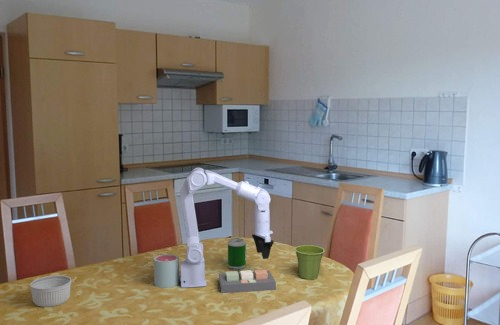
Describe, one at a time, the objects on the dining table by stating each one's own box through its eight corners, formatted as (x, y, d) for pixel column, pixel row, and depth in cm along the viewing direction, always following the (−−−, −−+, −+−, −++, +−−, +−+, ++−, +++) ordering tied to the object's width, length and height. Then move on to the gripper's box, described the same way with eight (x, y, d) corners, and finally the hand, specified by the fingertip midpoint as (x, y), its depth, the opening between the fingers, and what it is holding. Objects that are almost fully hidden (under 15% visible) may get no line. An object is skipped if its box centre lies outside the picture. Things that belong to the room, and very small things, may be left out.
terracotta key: (256, 283, 171) (256, 274, 171) (254, 278, 176) (254, 270, 175) (267, 282, 172) (267, 273, 172) (265, 278, 176) (265, 269, 176)
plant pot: (309, 284, 174) (310, 255, 173) (287, 275, 183) (288, 248, 182) (330, 277, 182) (330, 249, 180) (308, 269, 191) (308, 243, 189)
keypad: (221, 293, 166) (221, 284, 165) (218, 281, 178) (218, 273, 177) (275, 289, 169) (275, 281, 169) (269, 278, 181) (269, 270, 180)
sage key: (226, 284, 170) (226, 275, 169) (225, 280, 174) (225, 271, 174) (238, 284, 170) (238, 275, 170) (237, 279, 175) (237, 271, 174)
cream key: (241, 284, 171) (241, 274, 170) (240, 279, 175) (239, 270, 174) (253, 283, 171) (253, 274, 171) (251, 279, 176) (251, 270, 175)
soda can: (245, 270, 189) (245, 242, 188) (227, 270, 189) (227, 242, 188) (246, 264, 196) (246, 237, 195) (228, 264, 197) (228, 237, 195)
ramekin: (60, 290, 168) (59, 272, 168) (79, 299, 160) (78, 280, 159) (23, 301, 158) (22, 282, 157) (42, 312, 150) (41, 292, 149)
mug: (174, 288, 170) (173, 262, 169) (150, 286, 172) (150, 261, 171) (186, 275, 183) (186, 251, 182) (164, 274, 185) (164, 250, 184)
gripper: (278, 224, 169) (278, 260, 170) (266, 215, 182) (267, 249, 184) (259, 226, 167) (260, 262, 168) (249, 217, 181) (250, 250, 182)
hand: (262, 255), depth 176 cm, fingers open, 7 cm apart
